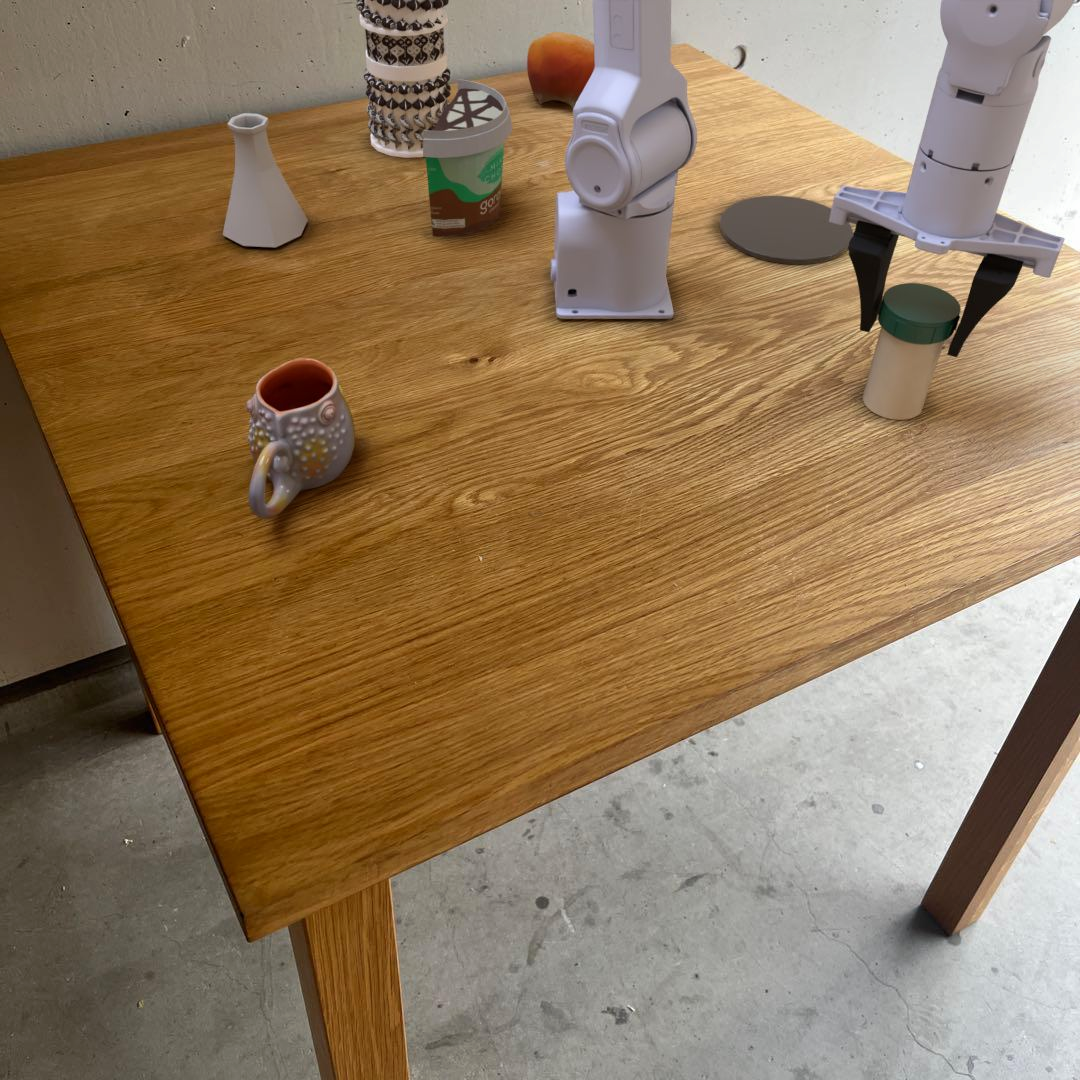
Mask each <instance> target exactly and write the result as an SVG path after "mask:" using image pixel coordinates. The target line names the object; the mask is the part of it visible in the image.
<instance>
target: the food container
mask: <svg viewBox="0 0 1080 1080" xmlns="http://www.w3.org/2000/svg"><path fill="white" fill-rule="evenodd" d="M449 103H450V104H449V105H447V106H446V107H445V108H444V110H443V112H442V114H441V116H440V118H439V120H438V122H437V124H436V126H435V128H434V129H433V131H430V130H424V139H423V157H422V158H425V165H426V166H425V167H426V176H427V187H428V188H427V190H428V199H429V209H430V210H429V211H430V221H431V222H430V223H431V234H432V236H439V237H453V236H464V235H469V234H472V233H477V232H480V231H482V230H484V229H487V228H489V227H490V226H492V225H493V224H494V223H495V222H496V221H497V220H498V218H499V217H500V212H501V211H500V210H501V199H502V198H501V197H502V183H503V168H504V154H505V153H504V152H505V142H506V141H507V140H508V139H509V138H510V136H511V134H512V132H513V122H512V117H511V113H510V107H509V106H508V104H507V102H506V99H505V97H504V96H503V95H502V93H500V92H499V91H497V90H496V89H495V88H492V87H491V86H489V85H486V84H484V83H480V82H476V81H472V80H467V79H461V78H460V79H459V78H457V92H456V93H455V96H454V98H453V99H452V101H450V102H449Z"/></svg>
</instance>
